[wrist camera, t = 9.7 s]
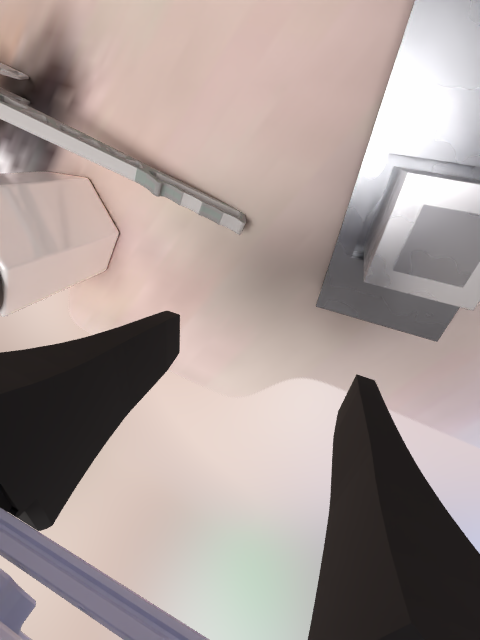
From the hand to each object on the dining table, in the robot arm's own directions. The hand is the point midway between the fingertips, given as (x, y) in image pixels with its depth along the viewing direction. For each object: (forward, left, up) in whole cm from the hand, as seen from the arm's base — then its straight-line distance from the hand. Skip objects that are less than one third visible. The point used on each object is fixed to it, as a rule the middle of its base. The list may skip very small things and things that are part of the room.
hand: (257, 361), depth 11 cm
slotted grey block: (-5, -5, -9) cm, 12 cm away
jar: (+20, +1, -11) cm, 23 cm away
